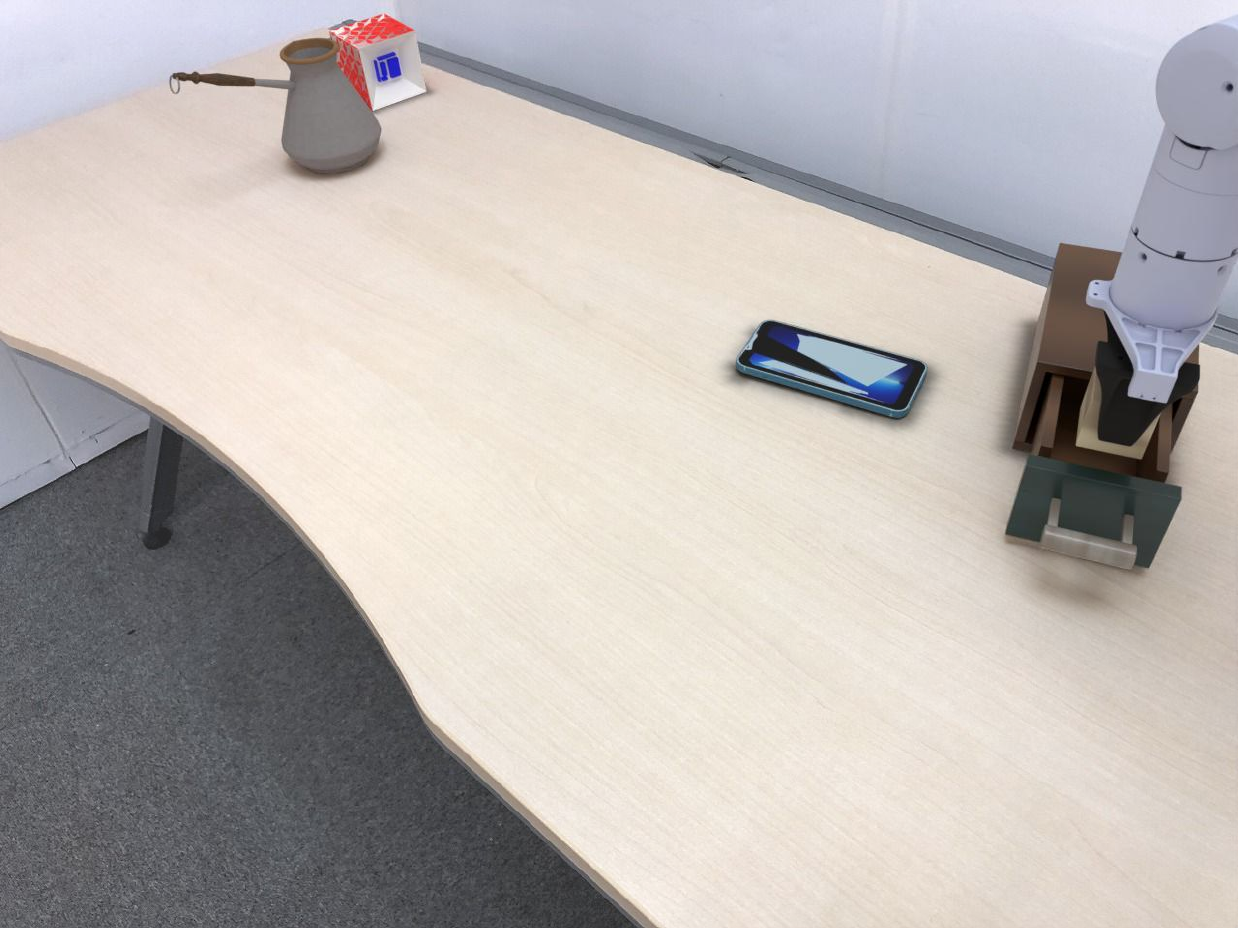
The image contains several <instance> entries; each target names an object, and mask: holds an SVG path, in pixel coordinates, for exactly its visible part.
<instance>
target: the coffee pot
mask: <svg viewBox="0 0 1238 928" xmlns="http://www.w3.org/2000/svg"><path fill="white" fill-rule="evenodd" d="M338 50H339V45H338V43H337V42H336V41H334V40H331V38H327V37H311V38H302V39H295V40H293V41H292V42H289V43H288V44H286V45H285V46H284V47H283V48H282V49H280V50H279V58H280V59H281V61H283V62H284V63H285V64H286V66H287V67H288V69H289V71H290V74H289V80H287V79H268V78H255V77H248V76H241V75H234V74H227V73H220V72H215V73H199V72H198V71H196V70H195V71H193V72H192V73H187V72H184V71H181V72H179V71H178V72H173V73H172V74H171V75H170V76H169V79H168V83H169V88H170V91H171V92H172V94H174V95H178V94H179V93H180V90H181V82H187V81H188V82H192V83H193V84H194V85H199V84H200V83H204V84H209V85H213V86H217V87H249V88H250V87H260V88H261V87H262V88H270V89H271V88H272V89H280V90H287V96H286V102H285V103H286V104H285V110H284V117H283V124H282V133H281V139H280V140H281V141H280V142H281V147H282V149H283V151H284V152H285V154H286V155H288V157H289V158H290V159H291V160H292V161H293V162H295V163H297V164H298V165H300V166H303V167H305V168H306V169H308V171H312V172H314V173H318V174H329V175H330V174H339V173H343V172H347V171H351V170H354V169H356V168H358V167H360V166H362V165H364V164H365V163H366V162H367V161H368V160H369V159H370V157H371V155H372V154H373V153H374V152H375V150H376V148H377V147H378V145H379V144H380V139H381V136H382V130H383V129H382V126H381V123H380V121H379V120H378V118H377V117H376V116H375V114H374V112H373V111H372V110H370V108H369V107H368V106H367V104H366V103H365V102H364V100H363V99H362V97H361V96H360V95H359V93H358V92H357V91H356V89H355V88H354V86H353V85H352V84H351V82H350V81H349V80H348V78H347V77H346V75H345V74H344V73H343V71H342V70H341V68H340V67H339V66H338V64H337V54H336V53H337V52H338ZM172 79H173V80H176V82H177V90H176V92H175V91H174V89H173V85H172V81H173V80H172Z"/></svg>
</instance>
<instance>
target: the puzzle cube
mask: <svg viewBox="0 0 1238 928" xmlns="http://www.w3.org/2000/svg"><path fill="white" fill-rule="evenodd" d="M328 34H329V39H331V40H334V41H336V42H337V43H338V45H339V50H338V52H337V53H336V54H337V64H338V66H339V67H340V68H341V70H342V71H343V73H344V74H345V75H346V77H347V78H348V80H349V81H350V82H351V84H352V85H353V86H354V88H355V89H356V91H357V92H358V93H359V95H360V96H361V97H362V99H363V100H364V102H365V103H366V104H367V106H368V107H369V108H370V110H371V111H372V112H374V111H378V110H381V109H383V108H386V107H388V106H391V105H395V104H397V103H399V102H402V101H405V100H408V99H411V98H414V97H416V96H419V95H422V94H424V93H427V92H428V91H427V84H426V81H425V76H424V75H425V74H424V71H423V65H422V60H421V55H420V49H419V44H418V37H417V33H416V30H415V29H413V28H412V27H411V26H408V25H407V24H404V23H403V22H401V21H399V20H397V19H395V18H393V17H392V16H389V15H388V14H386V13H382V14H378V15H374V16H372V17H368V18H366V19H363V20H359V21H356V22H353V23H349V24H347V25H344V26H340V27H337V28H333V29H330V30H328Z"/></svg>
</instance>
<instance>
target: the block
mask: <svg viewBox="0 0 1238 928" xmlns="http://www.w3.org/2000/svg"><path fill="white" fill-rule="evenodd" d="M1100 405H1101V386H1100V382H1099V379H1098V376H1097V374H1096V368H1095V367H1094V370H1093V373H1092V376H1091V379H1090V382H1089V385H1088V388H1087V391H1086V393H1085V396H1084V399H1083V402H1082V405H1081V408H1080V416H1079V423H1078V431H1077V438H1076V446H1078V447H1083V448H1088V449H1093V450H1098V451H1102V452H1107V453H1112V454H1117V455H1122V456H1126V457H1131V458H1136V459H1142V457H1143V455H1144V453H1145V450H1146V448H1147V445H1148V443H1149V441H1150V438H1151V436H1152V433H1153V431H1154V429H1155V426H1156V424H1157V421H1158V419H1159V417H1160V414H1161V413H1160V414H1159V415H1158V416H1157V417H1156V419H1155V420H1154V421H1153V422H1152V423H1151V425H1150V426H1149V427H1148V428H1147V430H1146V431H1145V432H1144V433H1143V435H1142V436H1141V437H1140V438H1139V439H1138V440H1137V441H1136V443H1135V444H1134V445H1133V446H1131V447H1129V446H1124V445H1119V444H1114V443H1109V442H1104V441H1100V440H1099V439H1098V419H1099V411H1100Z"/></svg>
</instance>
